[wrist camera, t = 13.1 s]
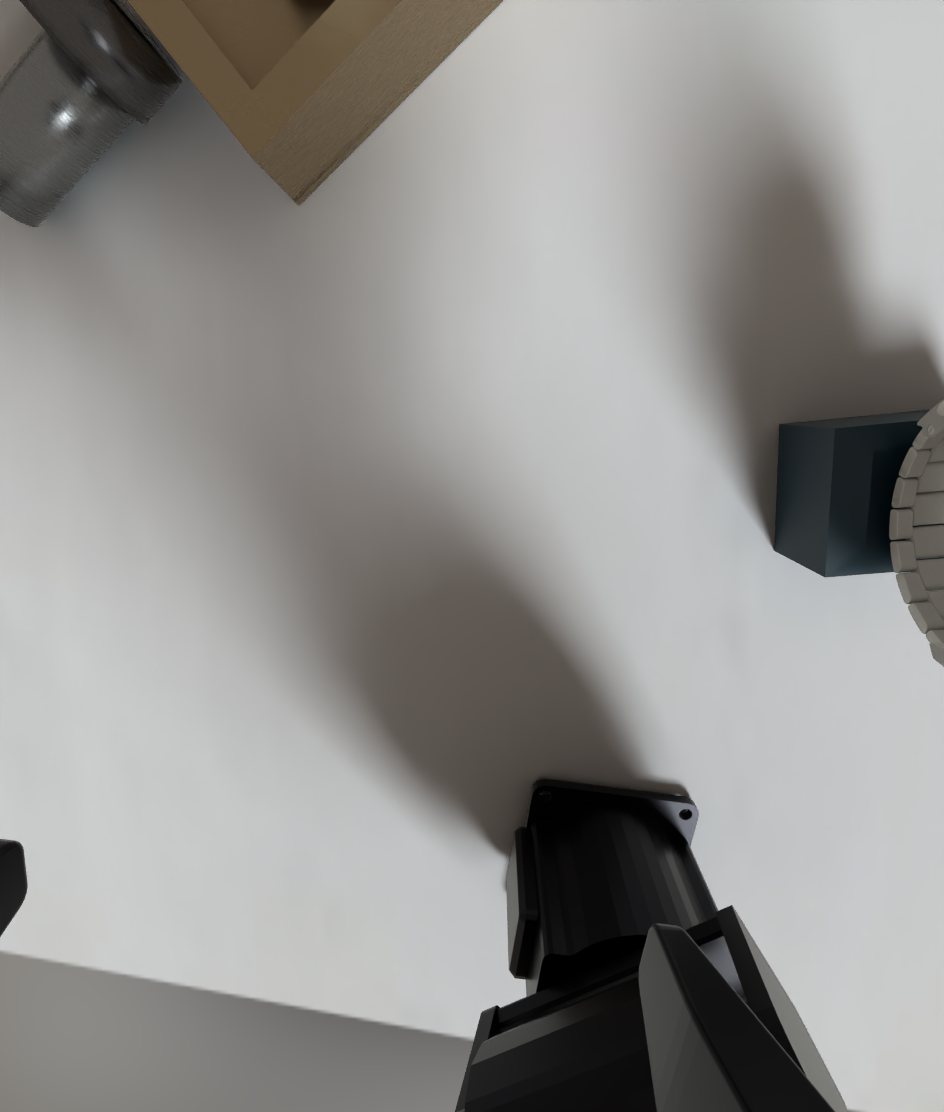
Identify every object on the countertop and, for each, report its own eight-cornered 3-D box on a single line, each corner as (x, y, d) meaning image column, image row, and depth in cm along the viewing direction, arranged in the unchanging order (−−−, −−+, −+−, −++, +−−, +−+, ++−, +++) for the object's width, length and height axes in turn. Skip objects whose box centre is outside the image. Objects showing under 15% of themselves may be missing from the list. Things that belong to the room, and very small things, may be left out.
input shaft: (114, -8, 16) (10, -121, 13) (205, 106, 17) (129, 27, 13) (-17, 152, 17) (-146, 89, 14) (71, 252, 18) (-30, 216, 14)
